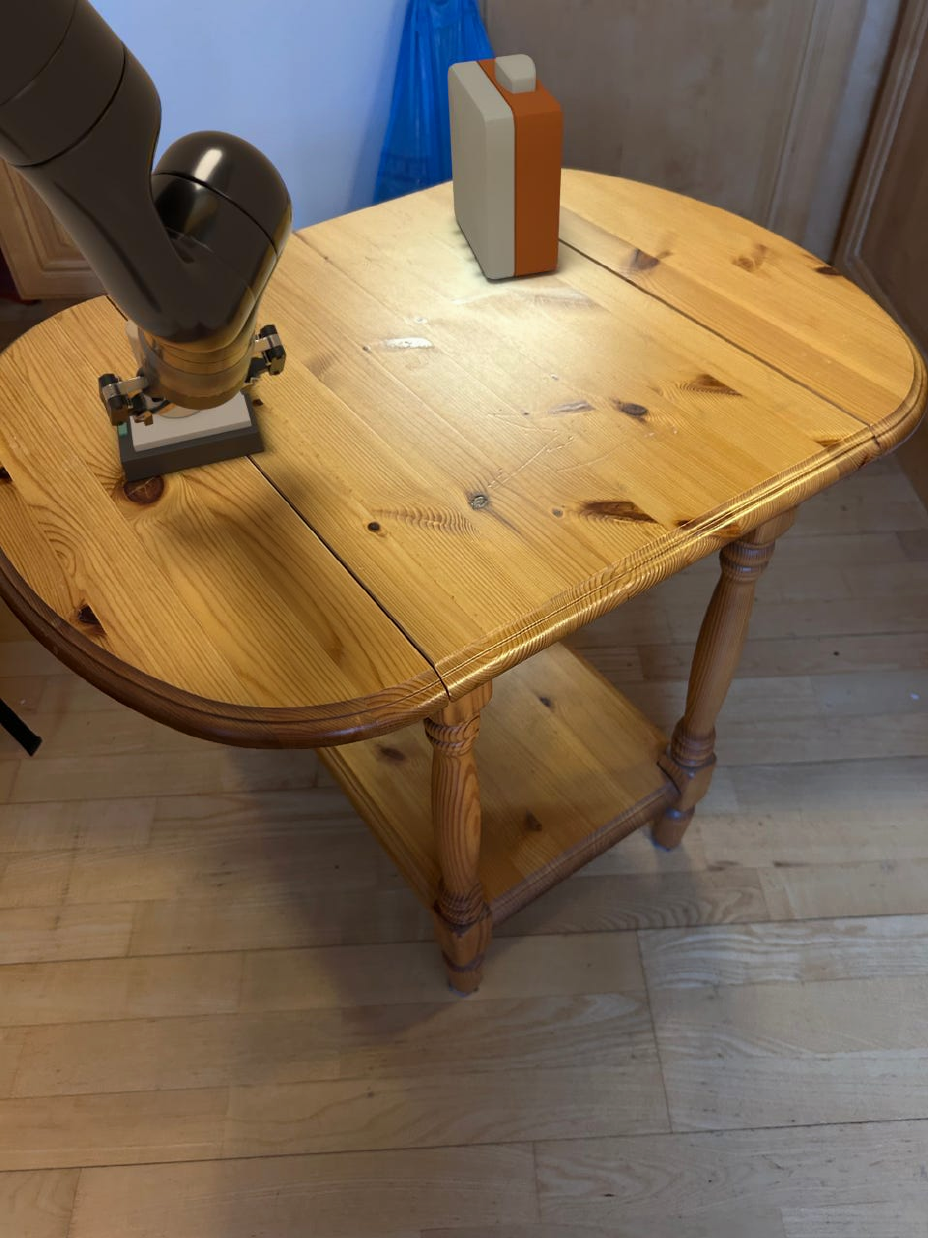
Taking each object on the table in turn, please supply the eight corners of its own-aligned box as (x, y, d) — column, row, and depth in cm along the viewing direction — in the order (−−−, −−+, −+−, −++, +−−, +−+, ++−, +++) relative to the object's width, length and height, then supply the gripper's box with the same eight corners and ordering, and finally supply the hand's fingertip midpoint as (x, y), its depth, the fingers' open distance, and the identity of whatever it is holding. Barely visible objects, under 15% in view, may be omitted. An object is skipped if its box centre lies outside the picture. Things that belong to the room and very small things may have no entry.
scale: (128, 482, 85) (117, 455, 83) (120, 405, 94) (109, 379, 91) (264, 451, 88) (257, 424, 85) (244, 379, 96) (237, 353, 93)
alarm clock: (559, 274, 108) (566, 84, 92) (488, 285, 107) (483, 95, 91) (517, 208, 120) (518, 30, 104) (453, 217, 119) (444, 39, 103)
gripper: (273, 260, 63) (255, 331, 79) (69, 317, 59) (92, 381, 75) (314, 362, 64) (288, 413, 79) (115, 426, 60) (128, 467, 75)
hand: (193, 398), depth 77 cm, fingers open, 8 cm apart
